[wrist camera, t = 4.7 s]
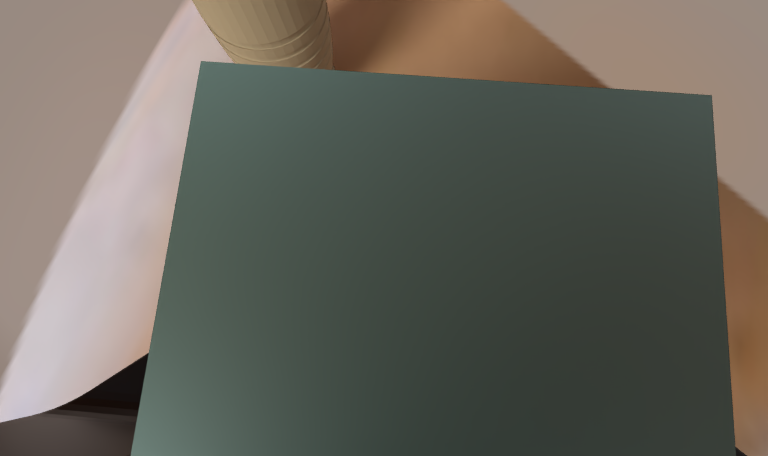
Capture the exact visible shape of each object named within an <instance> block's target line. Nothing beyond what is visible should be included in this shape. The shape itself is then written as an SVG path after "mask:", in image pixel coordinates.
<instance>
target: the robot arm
mask: <svg viewBox="0 0 768 456" xmlns="http://www.w3.org/2000/svg"><path fill="white" fill-rule="evenodd" d="M148 355H149V353H148V354H146V355H144V356H143V357H141V358H140V359H138V360H137V361H135V362H134V363H132V364H130V365H129V366H127V367H126V368H124V369H123V370H121V371H120V372H118V373H116V374H115V375H113V376H112V377H110V378H109V379H107V380H106V381H104V382H103V383H101V384H99V385H98V386H96V387H95V388H93V389H92V390H90V391H88V392H87V393H85V394H83V395H82V396H80V397H78V398H76V399H74V400H72V401H70V402H68V403H66V404H64V405H62V406H59V407H57V408H55V409H52V410H49V411H46V412H43V413H40V414H36V415H32V416H28V417H23V418H19V419H14V420H10V421H6V422H1V423H0V456H131V450H132V445H133V439H134V434H135V428H136V422H137V417H138V411H139V406H140V400H141V394H142V389H143V383H144V378H145V372H146V366H147V361H148ZM735 450H736V456H747V455H745V454H744V453H743V452H741V451H740V450H739V449H738V448H736V447H735Z"/></svg>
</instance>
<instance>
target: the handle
mask: <svg viewBox="0 0 768 456" xmlns="http://www.w3.org/2000/svg"><path fill="white" fill-rule="evenodd" d="M192 1H193V3H194V4H195V6H196V8H197V10H198V11H199V13H200V15H201V17H202V18H203V19H204V21H205V22H206V24H207V25H208V27H209V28H210V30H211V31H212V33H213V34H214V36H215V37H216V39H217V40H218V41H219V43H220V44H221V46H222V47H223V49H224V50H225V51H226V53H227V54H228V56H229V57H230V58H231V59H232V61H233V62H234V63H235V64H250V65H265V66H280V67H295V68H310V69H325V70H335V67H334V66H332V64H333V43H332V34H331V26H330V19H329V12H328V7H327V2H326V0H192Z"/></svg>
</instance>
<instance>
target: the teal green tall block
mask: <svg viewBox="0 0 768 456" xmlns="http://www.w3.org/2000/svg"><path fill="white" fill-rule="evenodd" d="M131 456H736V450H735V435H734V420H733V405H732V390H731V375H730V360H729V345H728V330H727V315H726V300H725V286H724V271H723V256H722V241H721V226H720V211H719V196H718V181H717V166H716V151H715V136H714V122H713V108H712V96H711V95H698V94H684V93H669V92H653V91H639V90H624V89H609V88H594V87H579V86H564V85H549V84H534V83H519V82H504V81H489V80H474V79H459V78H445V77H430V76H415V75H400V74H385V73H370V72H355V71H340V70H325V69H310V68H295V67H280V66H265V65H250V64H235V63H220V62H205V61H201V64H200V70H199V76H198V81H197V87H196V92H195V98H194V104H193V109H192V115H191V120H190V126H189V131H188V137H187V143H186V148H185V154H184V159H183V165H182V171H181V176H180V182H179V187H178V193H177V199H176V204H175V210H174V215H173V221H172V227H171V232H170V238H169V243H168V249H167V255H166V260H165V266H164V271H163V277H162V283H161V288H160V294H159V299H158V305H157V311H156V316H155V322H154V327H153V333H152V338H151V344H150V350H149V355H148V361H147V366H146V372H145V378H144V383H143V389H142V394H141V400H140V406H139V411H138V417H137V422H136V428H135V434H134V439H133V445H132V450H131Z"/></svg>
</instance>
